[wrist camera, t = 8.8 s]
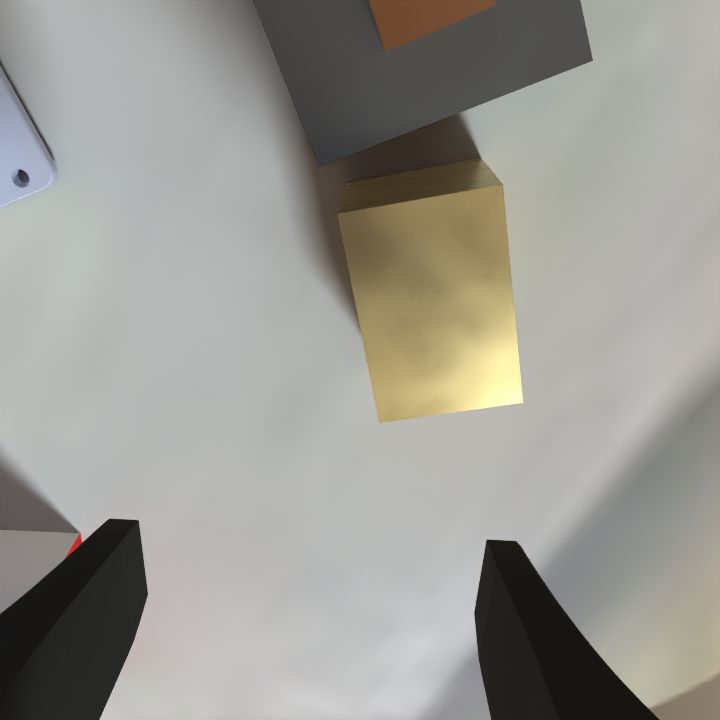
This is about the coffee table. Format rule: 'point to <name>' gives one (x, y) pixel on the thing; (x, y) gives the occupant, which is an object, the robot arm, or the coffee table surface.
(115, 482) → the coffee table surface
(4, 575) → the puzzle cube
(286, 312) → the coffee table surface
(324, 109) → the hand plane
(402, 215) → the lever cap
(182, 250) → the coffee table surface
